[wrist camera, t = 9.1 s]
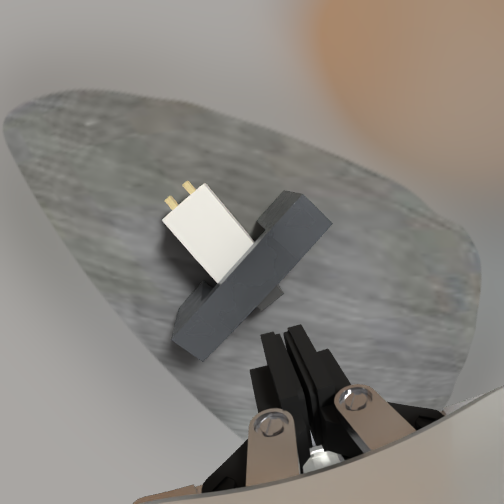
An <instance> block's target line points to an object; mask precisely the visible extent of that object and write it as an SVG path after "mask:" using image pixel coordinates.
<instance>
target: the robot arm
mask: <svg viewBox="0 0 504 504" xmlns="http://www.w3.org/2000/svg"><path fill="white" fill-rule="evenodd" d="M284 339H285V344H286V348H285V345H284V343H283V340H282V338H281V336H280V334H276V335H275V334H274V332H270V333H266V334H262V335H261V340H262V344H263V348H264V352H265V357H266V361H267V366H263V367H259V368H255V369H251V370H250V375H251V380H252V385H253V389H254V394H255V399H256V404H257V409H258V414H256V415H255V416H254V417H253V418H252V420H251V421H250V424H249V431H248V439H247V440H246V441H245V442H244V444H242V445H241V447H239V448H238V449H237V450H236V451H235V453H233V455H231V456H230V457H229V458H228V459H227V460H226V461H225V462H224V463H223V464H222V465H221V466H220V467H219V468H218V469H217V470H216V471H215V472H214V473H213V474H212V475H211V476H209V477H208V479H206V481H205V482H204V483H203V485H200V486H197V487H195V486H194V485H190V486H187V487H183V488H179V489H175V490H172V491H168V492H163V493H159V494H155V495H150V496H146V497H143V498H140V499H137V500H136V501H135V502H134V503H133V504H504V386H501V387H499V388H496V389H494V390H492V391H490V392H488V393H483V394H481V395H478V396H476V397H473V398H470V399H467V400H465V401H462V402H459V403H456V404H453V405H450V406H447V407H443V409H442V411H440V412H439V411H437V410H433V409H428V408H421V407H414V406H408V405H401V404H395V403H390V402H386V401H385V400H384V399H383V398H382V397H381V396H380V395H379V394H378V393H377V392H376V391H375V390H374V389H373V388H371V387H370V386H367V385H363V384H354V385H351V384H350V382H349V381H348V379H347V377H346V376H345V374H344V373H343V371H342V369H341V368H340V366H339V365H338V363H337V361H336V360H335V358H334V357H333V355H332V353H331V352H330V351H329V349H325V350H322V351H319V352H316V350H315V348H314V346H313V345H312V343H311V341H310V339H309V337H308V336H307V334H306V332H305V330H304V329H303V327H302V325H301V324H300V325H297V326H293V327H289V328H288V332H284ZM286 349H287V350H286ZM310 431H311V433H312V436H313V438H314V441H315V444H316V446H314V447H312V440H311V433H310Z"/></svg>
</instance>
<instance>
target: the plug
mask: <svg viewBox="0 0 504 504" xmlns="http://www.w3.org/2000/svg"><path fill="white" fill-rule="evenodd" d="M183 186H184V188H185V189H186V190H187V191H188V192H189V194H190V196H189V197H187V198H186V199H185V200H184V201H183V202H182V203H180V204H178V203H177V202H176V201H175V200H174V198H173V197H172V196H169V197H168V198H167V199H166V200H165V202H166V203H167V204H168V205H169V207H170V208H171V209H172V211H171V212H170V213H169V214H168V215H167V216H166V217H165V218H163V219H162V221H163V222H164V223H165V224H166V226H167V227H168V228H169V229H170V230H171V231H172V232H173V234H174V235H175V236H176V237H177V238H178V239H179V241H180V242H181V243H182V244H183V245H184V246H185V247H186V249H187V250H188V251H189V252H190V253H191V254H192V255H193V257H194V258H195V259H196V260H197V261H198V262H199V263H200V264H201V266H202V267H203V268H204V269H205V270H206V271H207V272H208V273H209V274H210V276H211V277H212V278H213V279H214V280H215V281H216V282H217V283H218V282H219V281H220V280H221V279H222V278H223V277H224V276H225V275H226V274H227V272H228V271H229V270H230V269H231V268H232V267H233V266H234V265H235V264H236V262H237V261H238V260H239V259H240V258H241V257H242V256H243V255H244V254H245V252H246V251H247V250H248V249H249V248H250V247H251V246H252V245H253V244H254V240H253V239H252V238H251V237H250V236H249V234H248V233H247V232H246V231H245V229H244V228H243V227H242V226H241V225H240V223H239V222H238V221H237V220H236V219H235V217H234V216H233V215H232V214H231V213H230V211H229V210H228V209H227V208H226V207H225V206H224V204H223V203H222V202H221V201H220V200H219V198H218V197H217V196H216V195H215V194H214V192H213V191H212V190H211V189H210V188H209V186H208V185H207V184H206V183H204V184H203V185H202V186H200V187H199V188H198V189H197V190H196V189H195V188H194V187H193V185H192V184H191V183H190V182H189V181H186V182H185V183H184V184H183ZM283 294H284V293H283V291H282V290H281V288H280V286H279V284H277V285H276V287H275V288H274V289H273V290H272V291H271V292H270V293H269V294H268V295H267V296H266V297H265V298H264V299H263V300H262V301H261V303H260V304H259V305H258V306H257V307H258V308H259V309H260V310H261V311H263V310H264V309H265V308H267V307H268V306H269V305H270V304H272V303H273V302H274V301H275V300H277V299H278V298H279V297H280V296H282V295H283Z"/></svg>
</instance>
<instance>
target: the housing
mask: <svg viewBox="0 0 504 504" xmlns="http://www.w3.org/2000/svg"><path fill="white" fill-rule="evenodd" d="M257 222H258V223H259V224H260V225H261V226H262V227H263V228H264V229H265V231H264V233H263V234H262V235H261V236H260V237H259V238H258V239H257V240H256V241H255V242H254V244H253V245H252V246H251V247H250V248H249V249H248V250H247V251H246V252H245V254H244V255H243V256H242V257H241V258H240V259H239V260H238V261H237V262H236V264H235V265H234V266H233V267H232V268H231V269H230V270H229V271H228V272H227V274H226V275H225V276H224V277H223V278H222V279H221V280H220V281H219V282H218V284H217V285H216V286H215V287H214V288H212V287H211V286H209V285H208V284H207V283H206V282H204V281H202V283H201V284H200V285H199V286H198V287H197V288H196V289H195V290H194V292H193V293H192V294H191V295H190V296H189V297H188V298H187V300H186V301H185V302H184V303H183V304H182V305H181V306H180V308H179V311H178V314H177V318H176V322H175V326H174V330H173V334H172V339H171V340H172V341H173V342H175V343H176V344H178V345H179V346H180V347H182V348H183V349H185V350H186V351H188V352H189V353H190V354H192V355H193V356H195V357H196V358H198V359H199V360H201V361H202V362H203V361H204V360H205V359H206V358H207V357H208V356H209V355H210V354H211V353H212V352H213V351H214V350H215V349H216V348H217V347H218V346H219V345H220V344H221V343H222V342H223V341H224V340H225V339H226V338H227V337H228V336H229V335H230V334H231V333H232V332H233V331H234V330H235V329H236V328H237V327H238V326H239V325H240V324H241V322H242V321H243V320H244V319H245V318H246V317H247V316H248V315H249V314H250V313H251V312H252V311H253V310H254V309H255V308H256V307H257V306H258V305H259V304H260V303H261V301H262V300H263V299H264V298H265V297H266V296H267V295H268V294H269V293H270V292H271V291H272V290H273V289H274V288H275V287H276V285H277V284H278V283H279V282H280V281H281V280H282V279H283V278H284V277H285V276H286V275H287V274H288V273H289V271H290V270H291V269H292V268H293V267H294V266H295V265H296V264H297V263H298V262H299V261H300V259H301V258H302V257H303V256H304V255H305V254H306V253H307V252H308V251H309V250H310V248H311V247H312V246H313V245H314V244H315V243H316V242H317V241H318V240H319V238H320V237H321V236H322V235H323V234H324V233H325V232H326V231H327V229H328V228H329V227H330V226H331V225H332V224H333V223H332V222H331V221H330V220H329V219H328V218H327V217H326V216H325V215H324V214H323V213H322V212H321V211H320V210H319V209H318V208H317V207H316V206H315V205H314V204H313V203H312V202H310V201H309V200H308V199H307V198H306V197H305V196H304V195H303V194H300V193H295V192H290V191H283V192H282V193H281V194H280V195H279V196H278V198H277V199H276V200H275V201H274V202H273V203H272V204H271V205H270V206H269V207H268V209H267V210H266V211H265V212H264V213H263V214H262V215H261V216H260V217H259V219H258V220H257Z"/></svg>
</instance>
